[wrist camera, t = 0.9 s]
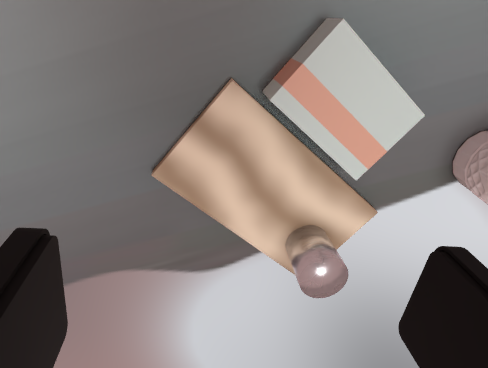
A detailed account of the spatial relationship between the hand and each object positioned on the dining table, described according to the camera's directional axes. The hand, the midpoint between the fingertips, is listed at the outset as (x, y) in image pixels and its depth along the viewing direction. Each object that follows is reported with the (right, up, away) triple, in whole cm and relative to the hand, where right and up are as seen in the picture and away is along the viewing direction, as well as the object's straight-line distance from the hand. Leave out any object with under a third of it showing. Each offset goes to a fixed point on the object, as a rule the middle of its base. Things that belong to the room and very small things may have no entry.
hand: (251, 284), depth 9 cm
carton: (+9, +11, +26) cm, 29 cm away
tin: (+7, -4, +31) cm, 32 cm away
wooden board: (+3, +2, +29) cm, 29 cm away
